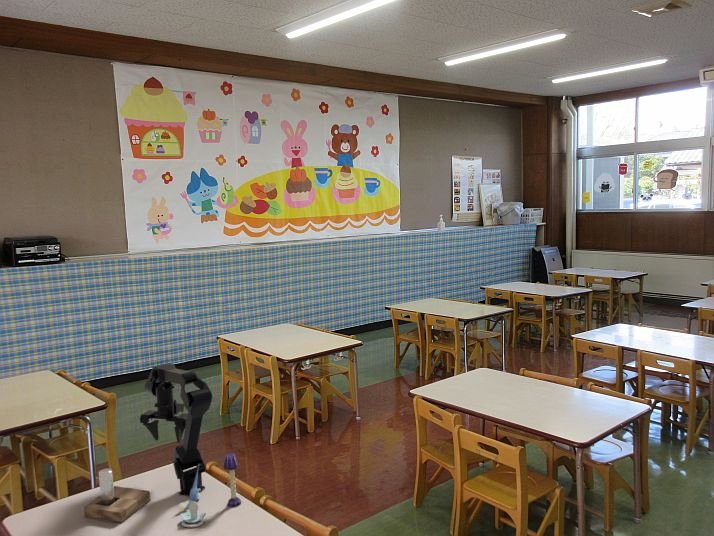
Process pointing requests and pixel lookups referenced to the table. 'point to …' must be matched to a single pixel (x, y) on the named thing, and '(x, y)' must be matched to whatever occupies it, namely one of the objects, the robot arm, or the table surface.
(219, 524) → the table surface
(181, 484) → the robot arm
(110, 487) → the aluminium peg
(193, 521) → the pacifier
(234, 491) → the toy lamp
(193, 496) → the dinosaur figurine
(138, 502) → the pocket board
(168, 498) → the table surface
